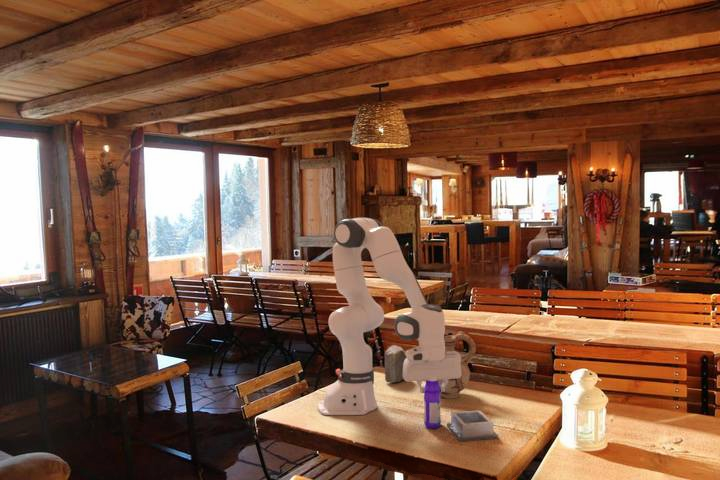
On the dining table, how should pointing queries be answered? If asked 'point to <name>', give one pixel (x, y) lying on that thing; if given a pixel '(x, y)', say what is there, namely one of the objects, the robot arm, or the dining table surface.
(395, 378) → the geological specimen
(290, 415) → the dining table surface
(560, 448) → the dining table surface
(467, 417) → the bottle holder
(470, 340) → the ceramic vessel
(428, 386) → the bottle
